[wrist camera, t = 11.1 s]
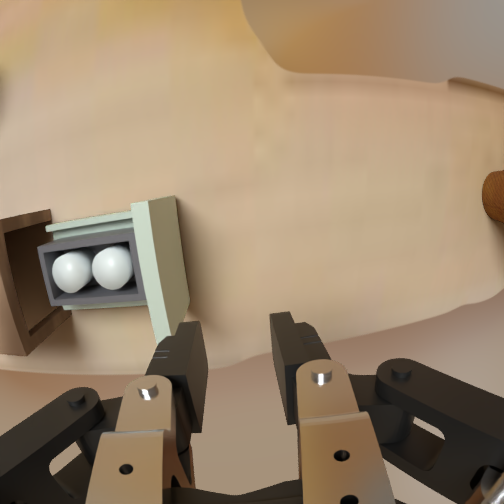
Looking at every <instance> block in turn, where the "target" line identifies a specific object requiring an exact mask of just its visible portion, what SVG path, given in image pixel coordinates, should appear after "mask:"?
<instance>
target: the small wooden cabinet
mask: <svg viewBox="0 0 504 504" xmlns="http://www.w3.org/2000/svg"><path fill="white" fill-rule="evenodd" d="M50 220H51V213H50V209H48V210H43V211H38V212H33V213H28V214H23V215H18V216H14V217H9V218H5V219H1V220H0V354H7V355H17V356H28V355H29V354H30V353H31V352H32V351H33V350H34V349H35V348H36V347H37V346H38V345H39V344H40V343H41V342H42V341H43V340H44V339H45V338H46V337H47V336H49V335H50V334H51V333H52V332H53V331H54V330H55V329H56V328H57V327H58V326H59V325H60V324H62V323H63V322H64V321H65V320H66V319H67V318H68V317H69V316H70V315H71V314H72V313H71V310H64V309H63V306H59V307H58V308H56V309H55V310H54V311H53V312H51V313H50V314H49V315H48V316H46V317H45V318H44V319H43V320H42V321H40V322H39V323H38V324H37V325H35V326H34V327H33V328H32V329H31V330H29V331H28V329H27V326H26V323H25V320H24V317H23V314H22V310H21V307H20V303H19V300H18V296H17V293H16V289H15V285H14V281H13V277H12V273H11V269H10V264H9V259H8V254H7V249H6V244H5V238H4V233H6V232H9V231H13V230H16V229H20V228H23V227H27V226H31V225H34V224H38V223H42V222H46V221H50Z"/></svg>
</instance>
